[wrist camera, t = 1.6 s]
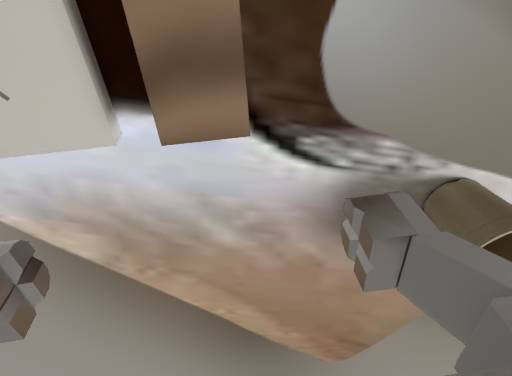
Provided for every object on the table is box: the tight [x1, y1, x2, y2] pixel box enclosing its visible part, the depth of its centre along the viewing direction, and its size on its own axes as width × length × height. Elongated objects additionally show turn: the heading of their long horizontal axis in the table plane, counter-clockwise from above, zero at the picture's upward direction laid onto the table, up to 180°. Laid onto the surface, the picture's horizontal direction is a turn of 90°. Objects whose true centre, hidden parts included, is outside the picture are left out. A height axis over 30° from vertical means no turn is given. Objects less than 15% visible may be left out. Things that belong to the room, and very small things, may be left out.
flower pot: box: [424, 179, 512, 262], centre depth 31 cm, size 9×9×9 cm
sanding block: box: [122, 0, 250, 146], centre depth 21 cm, size 10×6×5 cm, turn 4°
